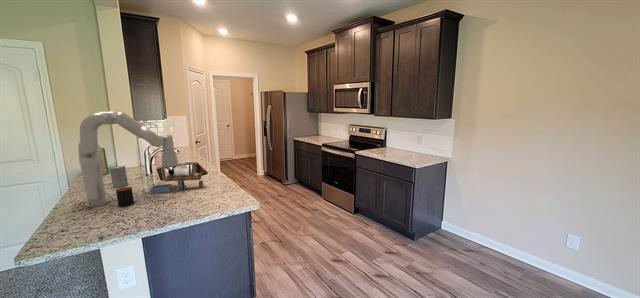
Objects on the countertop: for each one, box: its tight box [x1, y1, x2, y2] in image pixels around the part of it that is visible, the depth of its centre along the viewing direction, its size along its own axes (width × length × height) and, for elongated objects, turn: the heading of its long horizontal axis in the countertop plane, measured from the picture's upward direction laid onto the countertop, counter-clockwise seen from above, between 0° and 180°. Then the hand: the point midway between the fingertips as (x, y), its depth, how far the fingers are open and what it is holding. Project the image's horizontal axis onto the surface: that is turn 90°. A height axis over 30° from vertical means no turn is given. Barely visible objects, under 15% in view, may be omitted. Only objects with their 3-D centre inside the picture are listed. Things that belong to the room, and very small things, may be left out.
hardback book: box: [97, 146, 110, 176], centre depth 248 cm, size 18×7×24 cm, turn 55°
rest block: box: [198, 180, 204, 189], centre depth 206 cm, size 5×2×4 cm, turn 17°
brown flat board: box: [163, 172, 203, 182], centre depth 206 cm, size 24×17×4 cm
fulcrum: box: [175, 180, 189, 193], centre depth 202 cm, size 6×12×8 cm, turn 17°
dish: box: [149, 183, 173, 195], centre depth 198 cm, size 9×13×4 cm
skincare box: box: [109, 165, 129, 189], centre depth 210 cm, size 8×7×16 cm
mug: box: [115, 186, 135, 208], centre depth 172 cm, size 8×12×10 cm
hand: (171, 174), depth 207 cm, fingers closed
